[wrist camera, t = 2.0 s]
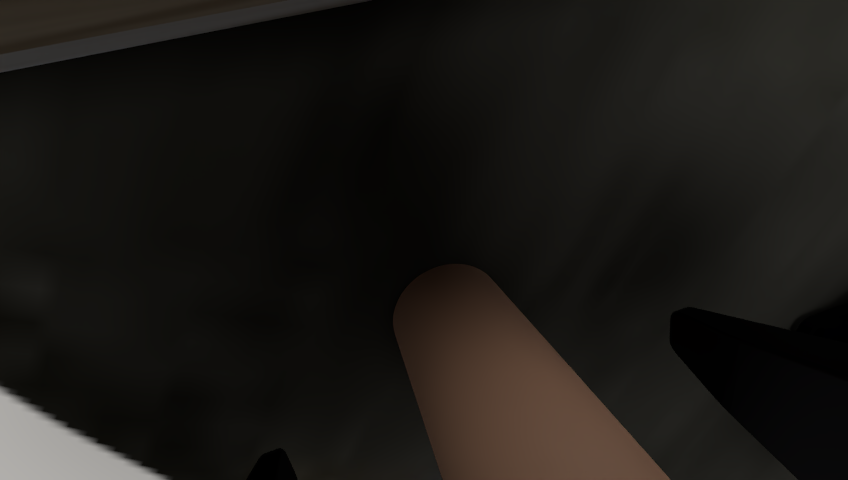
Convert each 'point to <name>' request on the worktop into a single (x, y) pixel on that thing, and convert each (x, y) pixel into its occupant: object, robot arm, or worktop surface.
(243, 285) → the worktop surface
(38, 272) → the worktop surface
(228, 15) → the tray
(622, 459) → the peg
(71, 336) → the worktop surface
